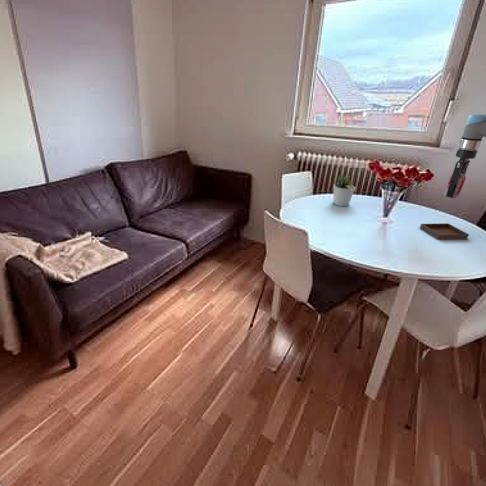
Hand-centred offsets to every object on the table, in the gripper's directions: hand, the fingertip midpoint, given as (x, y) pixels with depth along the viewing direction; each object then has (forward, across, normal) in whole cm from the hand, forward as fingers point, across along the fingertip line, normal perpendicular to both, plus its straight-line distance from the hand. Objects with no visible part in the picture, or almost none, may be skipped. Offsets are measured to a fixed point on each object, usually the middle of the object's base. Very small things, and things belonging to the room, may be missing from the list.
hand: (451, 195), depth 155 cm
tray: (+19, +4, +3) cm, 19 cm away
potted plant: (+19, +6, -53) cm, 56 cm away
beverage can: (+1, 0, 0) cm, 1 cm away
